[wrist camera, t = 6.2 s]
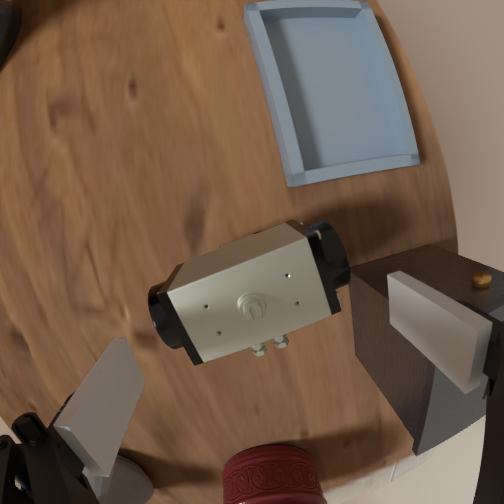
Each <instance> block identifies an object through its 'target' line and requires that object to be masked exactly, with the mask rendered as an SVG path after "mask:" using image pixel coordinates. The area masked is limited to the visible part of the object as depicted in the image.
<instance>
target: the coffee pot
mask: <svg viewBox="0 0 504 504" xmlns="http://www.w3.org/2000/svg"><path fill="white" fill-rule="evenodd" d="M82 472H83V474H84V475H85V476H86V477H87V479H88V481H89V483H90V485H91V487H92V489H93V491H94V493H95V495H96V497H97V499H98V501H99V503H100V504H145V503H146V502H147V501H148V500H149V499H150V498H151V496H152V495H153V493H154V490H153V485H152V482H151V481H150V479H149V477H148V476H147V475H146V474H145V473H144V472H143V470H142V469H141V468H140V467H139V466H138V465H137V464H135V463H134V462H132V461H130V460H129V459H127V458H124V457H122V456H119V455H117V456H116V459H115V462H114V464H113V467H112V470H111V473H110V476H109V477H104V476H96V475H93V474H92V473H91V472H90V471H89V470H88V469H87V468H86V467H84V469H83V471H82Z"/></svg>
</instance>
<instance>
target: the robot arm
mask: <svg viewBox="0 0 504 504" xmlns="http://www.w3.org/2000/svg"><path fill="white" fill-rule="evenodd" d="M20 20H21V13H20V10H19V8H18V7H17V6H16V5H14V4H13V3H12V2H10V1H8V0H0V66H1V64H2V63H3V61H4V59H5V58H6V56H7V54H8V52H9V50H10V48H11V46H12V44H13V42H14V40H15V37H16V35H17V32H18V29H19V25H20ZM387 279H388V293H389V311H390V324H391V325H392V326H393V327H394V328H396V329H397V330H398V331H399V332H400V333H401V334H402V335H403V336H404V337H405V338H407V339H408V340H409V341H410V342H411V343H412V344H413V345H414V346H415V347H416V348H417V349H418V350H420V351H421V352H422V353H423V354H424V355H425V356H426V357H427V358H428V359H429V360H430V361H431V362H432V363H433V364H434V365H435V366H437V367H438V368H439V369H440V370H441V371H442V372H443V373H444V374H445V375H446V376H447V377H448V378H449V379H450V380H451V381H452V382H453V383H454V384H455V385H456V386H457V387H458V388H459V389H460V390H461V391H462V392H463V393H464V394H467V393H469V392H470V391H472V390H473V389H475V388H476V387H478V386H480V382H481V378H482V374H483V373H484V374H485V375H486V376H488V381H487V385H486V388H485V392H484V395H483V398H482V399H485V397H486V395H487V398H486V422H485V435H484V445H483V452H482V460H481V467H480V472H479V478H478V483H477V488H476V492H475V497H474V501H473V504H504V321H503V322H501V321H500V320H498V319H496V318H494V317H493V316H491V315H489V314H487V313H486V312H484V311H481V310H480V309H479V308H477V307H476V308H475V306H473V305H471V304H470V303H468V302H465V301H461V300H457V299H456V300H453V299H451V298H449V297H448V296H446V295H444V294H442V293H440V292H439V291H437V290H435V289H433V288H431V287H430V286H428V285H426V284H424V283H422V282H420V281H418V280H417V279H415V278H413V277H411V276H409V275H407V274H405V273H403V272H402V271H397V272H394V273H391V274H387ZM145 382H146V381H145V379H144V377H143V375H142V373H141V370H140V368H139V366H138V364H137V362H136V360H135V357H134V355H133V353H132V351H131V349H130V346H129V344H128V342H127V339H126V337H123V338H117V339H113V340H112V341H111V342H110V344H109V345H108V346H107V348H106V349H105V351H104V352H103V353H102V355H101V356H100V357H99V359H98V360H97V362H96V363H95V364H94V366H93V367H92V369H91V370H90V371H89V373H88V374H87V376H86V377H85V378H84V380H83V381H82V383H81V384H80V386H79V387H78V389H77V390H76V391H75V392H74V393H73V394H71V395H70V396H69V397H68V398H67V400H66V401H65V403H64V404H63V405H64V406H62V407H61V409H60V410H59V411H60V412H58V413H57V414H56V416H55V417H54V419H53V420H52V422H51V423H50V425H49V427H48V428H46V427H45V426H44V424H43V423H42V421H41V420H40V419H39V417H38V416H37V414H36V413H33V412H28V413H25V414H23V415H21V416H19V417H18V418H17V419H16V420H15V421H14V422H13V424H12V427H11V429H12V430H13V431H14V433H15V434H16V435H17V437H18V438H19V439H20V441H21V442H22V443H21V444H16V443H15V442H14V441H13V440H12V438H11V437H10V436H9V435H2V436H0V504H100V503H99V501H98V499H97V497H96V495H95V493H94V491H93V489H92V487H91V485H90V483H89V481H88V479H87V477H86V476H85V475H84V474H83V472H82V471H83V469H84V467H86V468H87V469H88V470H89V471H90V472H91V473H92V474H93V475H96V476H104V477H109V476H110V473H111V470H112V467H113V464H114V462H115V459H116V456H117V453H118V451H119V448H120V445H121V443H122V440H123V437H124V435H125V432H126V430H127V427H128V424H129V422H130V419H131V417H132V414H133V412H134V409H135V407H136V404H137V402H138V399H139V397H140V394H141V392H142V389H143V387H144V385H145ZM15 480H16V481H17V482H18V483H19V484H20V485H21V490H20V489H18V488H17V487H16V486H15Z"/></svg>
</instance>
